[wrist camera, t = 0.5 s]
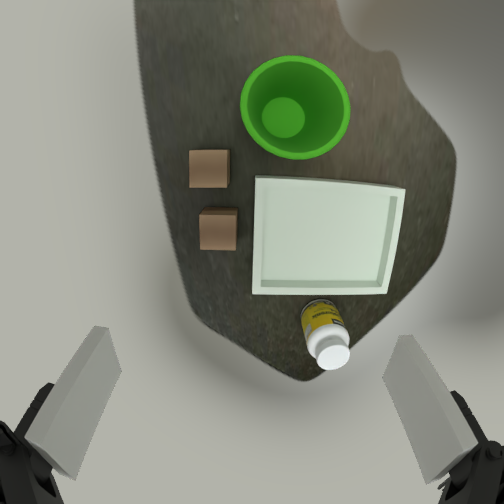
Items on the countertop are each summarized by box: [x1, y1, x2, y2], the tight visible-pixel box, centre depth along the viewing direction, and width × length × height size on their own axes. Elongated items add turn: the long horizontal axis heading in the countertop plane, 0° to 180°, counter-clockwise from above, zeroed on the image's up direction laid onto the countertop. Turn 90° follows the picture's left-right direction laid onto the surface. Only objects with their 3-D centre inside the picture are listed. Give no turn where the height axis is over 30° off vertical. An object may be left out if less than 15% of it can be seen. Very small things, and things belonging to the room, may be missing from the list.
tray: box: [252, 175, 405, 295], centre depth 34 cm, size 14×18×3 cm
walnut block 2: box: [199, 207, 238, 250], centre depth 33 cm, size 4×4×4 cm
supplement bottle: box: [301, 299, 350, 370], centre depth 35 cm, size 5×5×10 cm
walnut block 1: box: [189, 150, 230, 188], centre depth 31 cm, size 4×4×4 cm
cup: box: [240, 55, 350, 160], centre depth 25 cm, size 9×9×11 cm
